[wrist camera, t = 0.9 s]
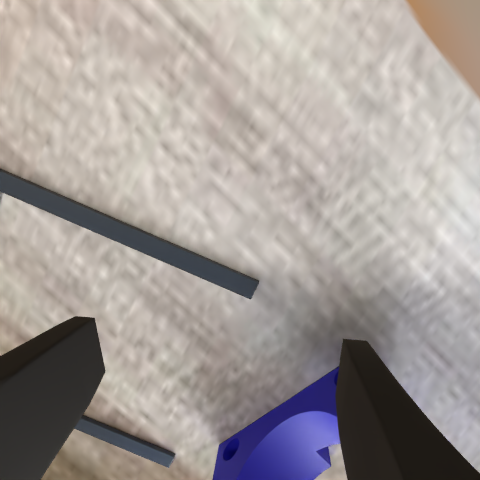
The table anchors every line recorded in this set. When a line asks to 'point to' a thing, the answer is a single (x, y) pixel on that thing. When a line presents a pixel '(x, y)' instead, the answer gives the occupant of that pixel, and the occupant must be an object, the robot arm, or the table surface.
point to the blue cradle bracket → (285, 439)
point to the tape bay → (141, 243)
